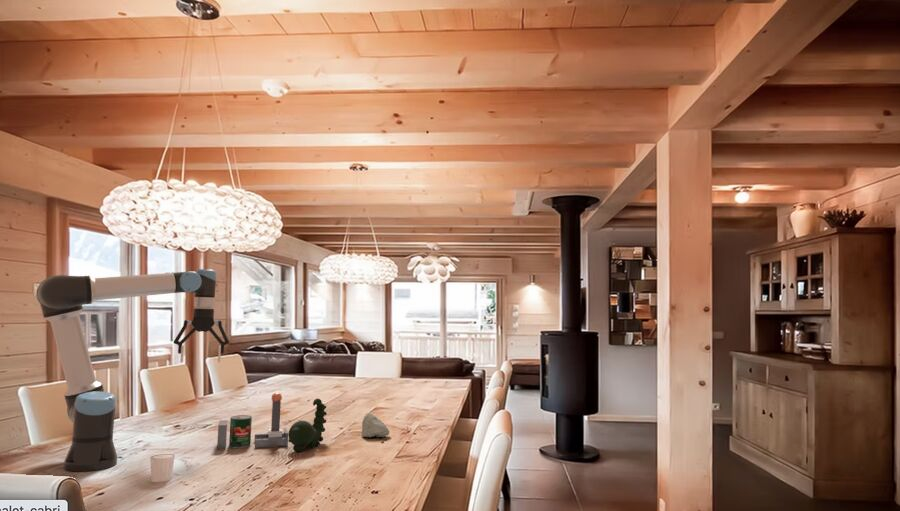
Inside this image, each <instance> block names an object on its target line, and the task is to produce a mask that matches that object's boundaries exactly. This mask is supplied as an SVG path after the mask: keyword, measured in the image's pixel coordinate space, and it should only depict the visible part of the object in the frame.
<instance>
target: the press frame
mask: <svg viewBox="0 0 900 511" xmlns="http://www.w3.org/2000/svg"><path fill="white" fill-rule="evenodd" d="M228 424H229V423H228V420H227V419H224V420H219V422H218V428H217V442H216V445H217V446H216V450H217V451H220V450H221V451H222V449H224V450H227V449H226V448H227V442H228V441H227V439H228V438H227V437H228V436H227V435H228ZM288 434H289V430H288V429H287V427H283V432H282V438H271V439H268V433H255V434H254V442H253V443H255V444H254V449H262V448H278V447H277V446H284V447H288V446H289V435H288Z"/></svg>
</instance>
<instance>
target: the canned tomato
mask: <svg viewBox="0 0 900 511" xmlns="http://www.w3.org/2000/svg"><path fill="white" fill-rule="evenodd" d="M252 418H253V417H252V416H251V415H245V414H244V415H243V414H241V415H239V414H238V415H232V416H230V421H229V422H230V424H229V441H228V447H229V448H232V449H243V448H244V447H245V448H248V447H250V446H251V441H252V440H251V439H252V438H251V437H252V421H253V420H252Z"/></svg>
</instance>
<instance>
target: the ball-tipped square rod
mask: <svg viewBox="0 0 900 511" xmlns="http://www.w3.org/2000/svg"><path fill="white" fill-rule="evenodd" d="M282 400H283V396H282V394H281V393H279V392H274V393H273V394H272V396H271V401H272V402H271V403H272V404H271V406H272V407H271V420H270V421H271V424H270V425H271V426H270V427H269V428H268V429H267V434H268V439H271V438H282V433H283V429H282V427H280V426H281V424H280V423H281V406H282V405H281V404H282V403H281V402H282Z"/></svg>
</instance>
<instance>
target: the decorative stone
mask: <svg viewBox="0 0 900 511" xmlns="http://www.w3.org/2000/svg"><path fill="white" fill-rule="evenodd" d="M361 426H362V428H361V437H362V438H365V437H369V438H373V437H374V438H379V437H382V438H385V437H386V436H389V434H390V430H389V428H388V426H387V425H386V424H385V423H384V422H383V421H382V420H381V419H380V418H378V417H377V416H376V415H374V414H372V413H366V414H365V416H364V417H363V419H362V423H361ZM375 436H376V437H375Z"/></svg>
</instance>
